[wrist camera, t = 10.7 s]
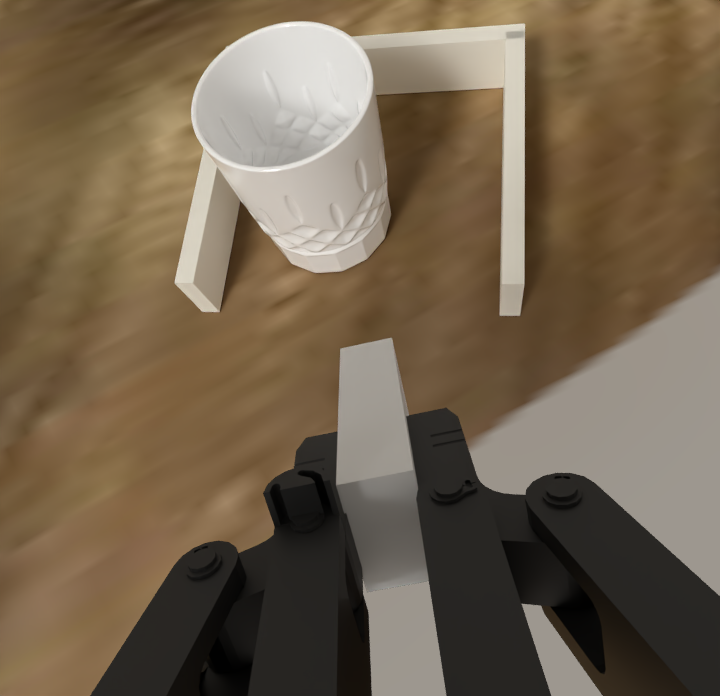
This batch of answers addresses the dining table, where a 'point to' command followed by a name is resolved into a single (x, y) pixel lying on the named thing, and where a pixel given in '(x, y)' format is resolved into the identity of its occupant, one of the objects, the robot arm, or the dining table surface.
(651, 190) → the dining table surface
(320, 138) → the white cup
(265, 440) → the dining table surface
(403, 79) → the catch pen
